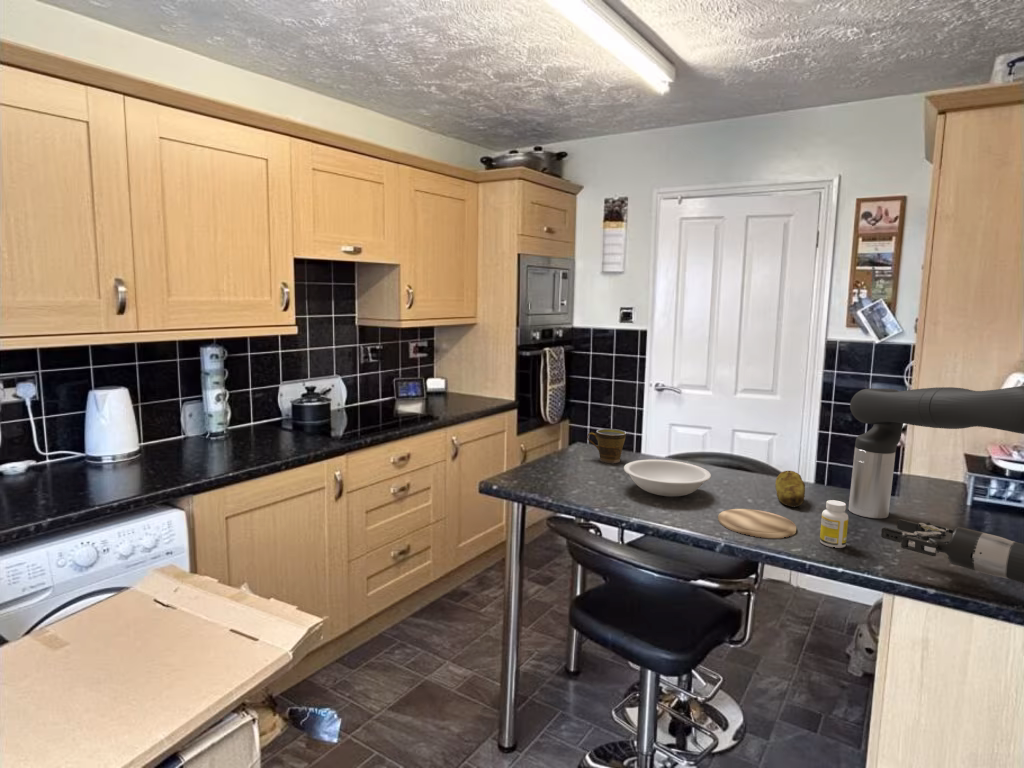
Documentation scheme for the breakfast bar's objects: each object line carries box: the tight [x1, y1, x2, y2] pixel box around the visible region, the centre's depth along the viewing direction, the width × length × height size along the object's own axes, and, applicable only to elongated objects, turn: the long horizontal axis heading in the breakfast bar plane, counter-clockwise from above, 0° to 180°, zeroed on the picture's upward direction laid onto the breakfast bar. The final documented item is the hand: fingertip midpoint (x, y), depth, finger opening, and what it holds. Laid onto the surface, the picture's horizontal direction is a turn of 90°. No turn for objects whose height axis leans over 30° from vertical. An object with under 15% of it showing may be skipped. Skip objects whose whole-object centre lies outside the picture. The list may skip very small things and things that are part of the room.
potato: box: [774, 470, 806, 508], centre depth 170 cm, size 8×13×8 cm, turn 148°
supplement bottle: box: [819, 499, 849, 549], centre depth 141 cm, size 5×5×10 cm
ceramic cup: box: [586, 428, 627, 464], centre depth 209 cm, size 13×10×10 cm
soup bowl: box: [623, 459, 712, 497], centre depth 176 cm, size 24×24×7 cm
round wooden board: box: [717, 508, 797, 539], centre depth 153 cm, size 18×18×1 cm
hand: (890, 527), depth 132 cm, fingers open, 8 cm apart
